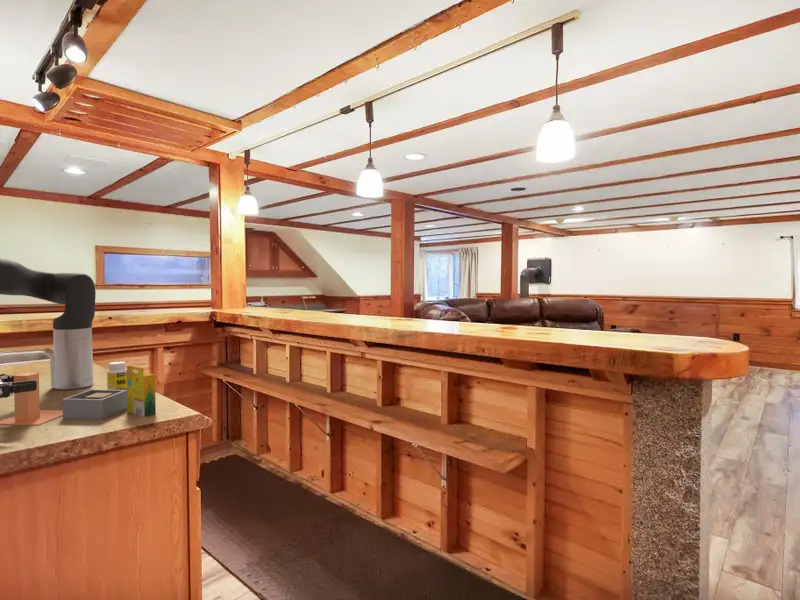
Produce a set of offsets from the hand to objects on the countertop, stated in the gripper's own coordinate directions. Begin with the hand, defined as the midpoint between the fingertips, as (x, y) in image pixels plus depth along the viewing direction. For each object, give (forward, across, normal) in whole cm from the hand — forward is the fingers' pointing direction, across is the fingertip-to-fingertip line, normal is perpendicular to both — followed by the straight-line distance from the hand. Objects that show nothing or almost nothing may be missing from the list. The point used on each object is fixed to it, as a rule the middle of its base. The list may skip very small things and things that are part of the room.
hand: (34, 381), depth 100 cm
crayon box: (+19, -10, +9) cm, 23 cm away
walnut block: (+12, -3, +8) cm, 15 cm away
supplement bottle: (+19, +18, +9) cm, 28 cm away
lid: (0, +2, +9) cm, 9 cm away
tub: (+11, -4, +9) cm, 14 cm away
